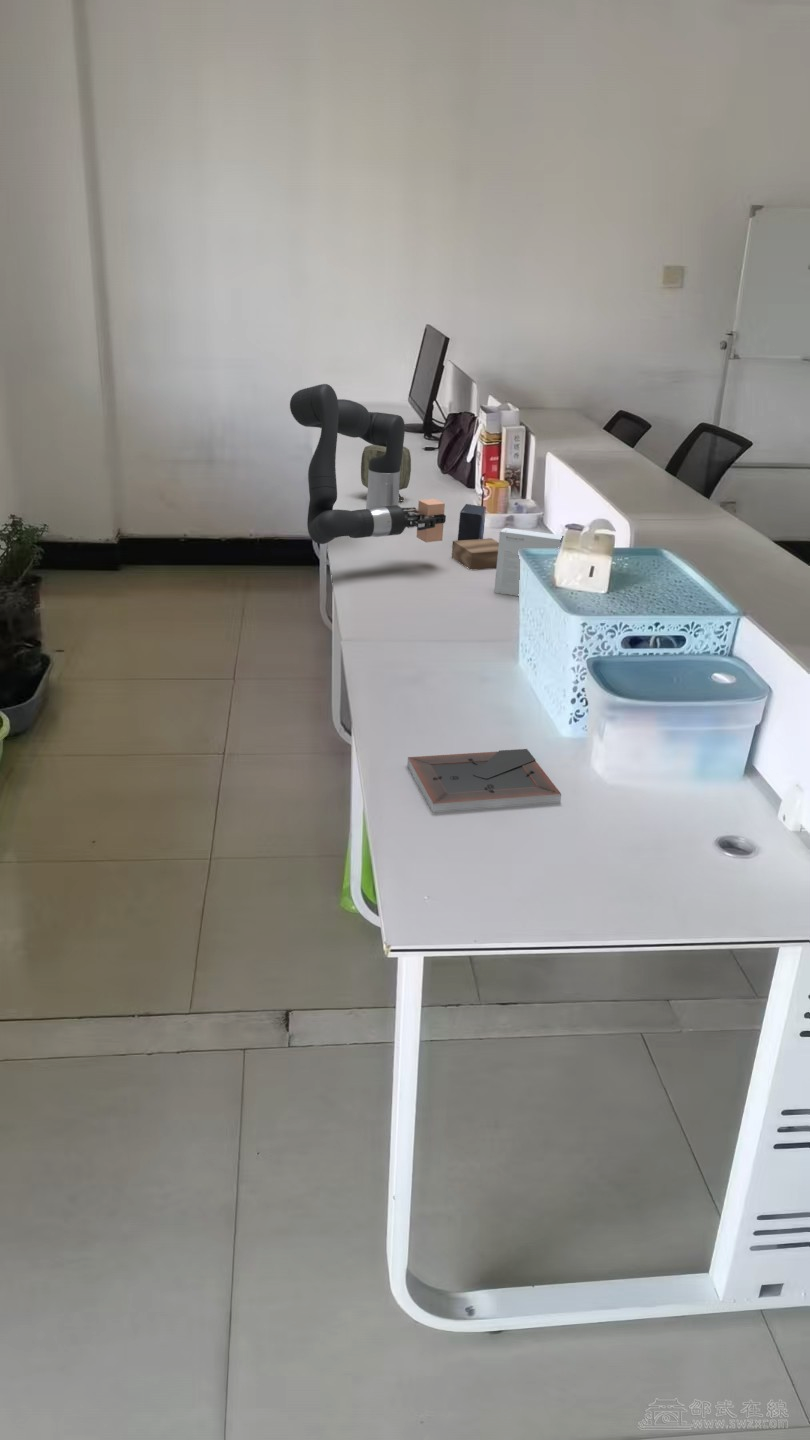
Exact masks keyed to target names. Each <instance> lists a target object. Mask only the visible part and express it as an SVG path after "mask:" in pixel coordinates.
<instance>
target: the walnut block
mask: <svg viewBox="0 0 810 1440" xmlns="http://www.w3.org/2000/svg"><path fill="white" fill-rule="evenodd" d="M451 547H452V549H451V558H452V559H453V558H454V559H453V560H455V561H457V562H460V565H462V564H463V565H462V566H464V565H465V566H466V567H465V566H464V567H465V568H467V567H468V568H469V570H470V569H477V570H485V569H484V568H490V569H496V567H497V556H498V547H499V541H497V540H495V539H493V538H483V539H475V540H459V541H458V540H452V546H451ZM468 568H467V569H468Z"/></svg>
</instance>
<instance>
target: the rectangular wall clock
mask: <svg viewBox="0 0 810 1440" xmlns="http://www.w3.org/2000/svg"><path fill="white" fill-rule="evenodd" d="M406 765H407V768H408V770H409V771H410V773H411V775H412V776H413V779H414V780H415V782H416V784H417V787H418V788H419V790H420V791H421V794H422V796H423V797H424V799H425V801H426V802H427V805H428V806H429V808H430V810H431V811H432V813H442V812H443V813H445V812H458V811H468V810H481V809H482V810H483V809H493V808H495V809H496V808H507V807H508V808H509V807H518V806H520V807H521V806H531V805H532V806H533V805H544V804H545V805H547V804H557V803H559V804H560V803H561V799H562V793H561V792H560V790H559V789H558V788H557V787H556V785H555V784H554V783H553V780H551V779H550V778H549V776H548V774H547V773H546V772H545V771H544V770H543V769H542V767H541V766H540V765H539V763H538V762H537V760H536V758H535V757H534V756H533V755H532V753H531V752H530V750H528V748H519V749H505V750H504V749H502V750H501V749H500V750H498V751H484V752H470V753H469V752H468V753H453V754H440V755H439V754H438V755H436V754H435V755H422V756H408V757H407V763H406Z"/></svg>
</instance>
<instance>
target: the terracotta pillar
mask: <svg viewBox="0 0 810 1440" xmlns="http://www.w3.org/2000/svg"><path fill="white" fill-rule="evenodd" d="M417 506H418V507H417V509H418V513H424V514H425V515H440V514H444V515H445V508H446V507H445V506H446V503H444V502H442V501H440V500H438V499H437V498H429V499H428V498H427V499H419V500H418V505H417ZM420 519H422V516H420ZM443 535H444V523H439V524H435V527H434V528H429V529H424V530H417V529H416V538H417V539H419V540H421V541H423V542H425V543H432V542H440V541H441V542H442V541H443Z"/></svg>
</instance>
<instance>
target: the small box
mask: <svg viewBox="0 0 810 1440" xmlns="http://www.w3.org/2000/svg"><path fill="white" fill-rule="evenodd" d="M486 512H487V506H483V505H478V504H477V505H476V504H470V503H469V504H468V503H465V505H464V506H463V507H462V509H461V510H460V512H459V519H458V521H459V522H458V532H457V533H458V534H457V541H459V540H475V539H484V534H485V523H486Z"/></svg>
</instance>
